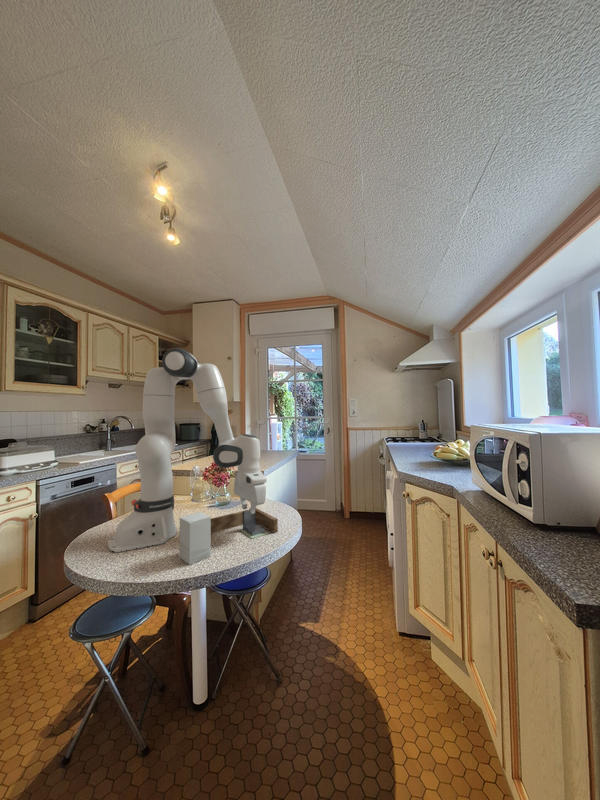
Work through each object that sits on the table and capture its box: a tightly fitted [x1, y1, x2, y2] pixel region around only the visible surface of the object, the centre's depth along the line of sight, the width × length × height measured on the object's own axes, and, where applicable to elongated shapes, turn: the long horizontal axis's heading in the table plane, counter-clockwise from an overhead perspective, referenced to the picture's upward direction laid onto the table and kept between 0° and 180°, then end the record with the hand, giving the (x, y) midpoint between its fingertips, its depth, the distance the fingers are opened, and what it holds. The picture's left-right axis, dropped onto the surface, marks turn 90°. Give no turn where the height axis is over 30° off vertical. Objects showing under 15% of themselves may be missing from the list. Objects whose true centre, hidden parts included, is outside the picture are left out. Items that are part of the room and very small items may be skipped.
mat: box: [239, 528, 269, 540], centre depth 111 cm, size 7×10×1 cm
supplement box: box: [179, 511, 212, 565], centre depth 92 cm, size 7×7×13 cm
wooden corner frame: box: [211, 507, 279, 534], centre depth 111 cm, size 22×17×5 cm
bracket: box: [242, 509, 265, 536], centre depth 111 cm, size 8×5×7 cm, turn 38°
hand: (248, 510), depth 114 cm, fingers open, 5 cm apart
